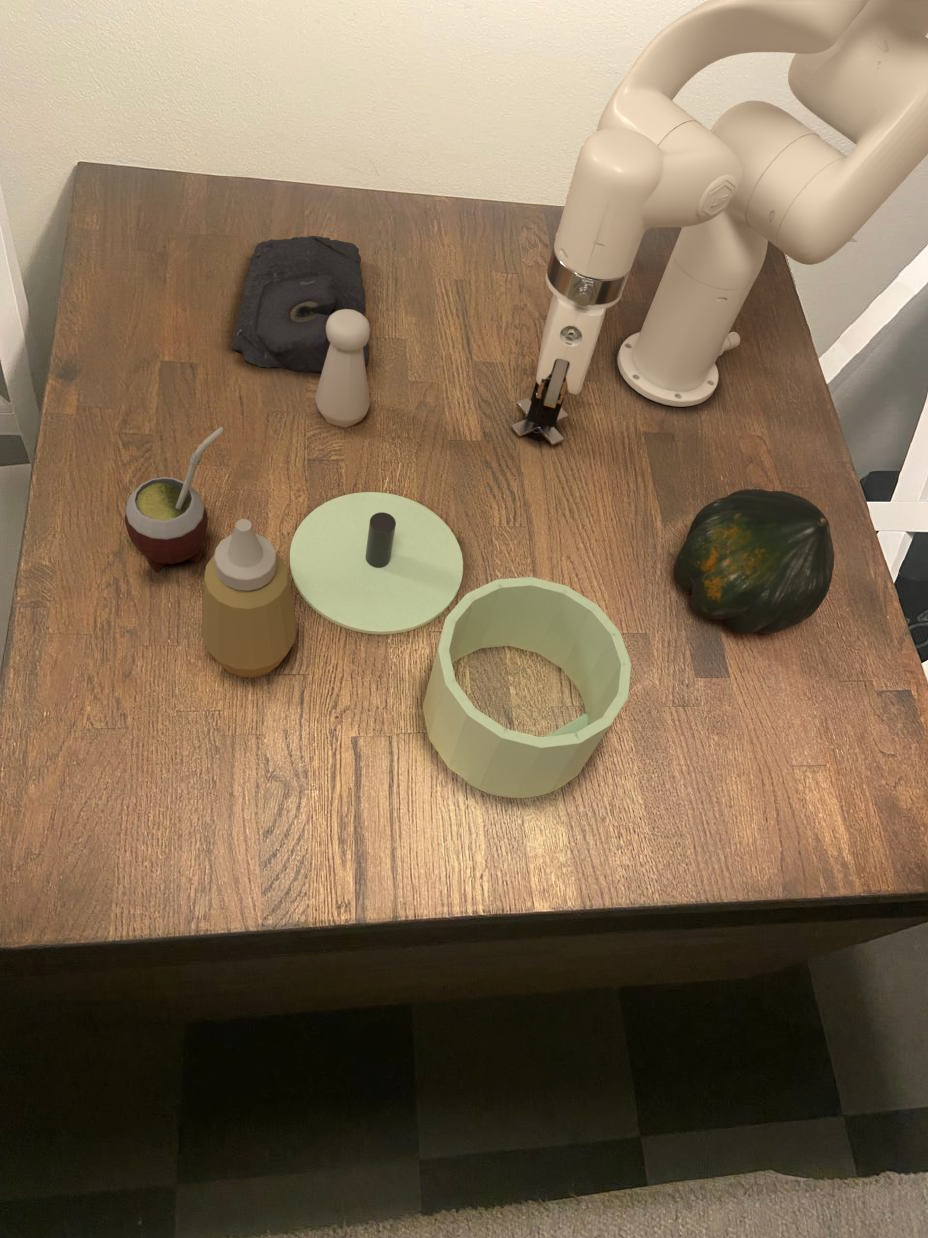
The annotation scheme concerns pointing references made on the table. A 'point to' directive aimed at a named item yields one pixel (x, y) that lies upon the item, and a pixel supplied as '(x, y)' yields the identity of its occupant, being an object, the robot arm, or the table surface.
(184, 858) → the table surface
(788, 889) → the table surface
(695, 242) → the robot arm
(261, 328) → the dark slate chunk
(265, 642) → the squeeze bottle
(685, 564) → the squash
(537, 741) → the green cylindrical sleeve
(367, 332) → the salt shaker
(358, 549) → the lid
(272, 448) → the table surface
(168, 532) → the mate gourd
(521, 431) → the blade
